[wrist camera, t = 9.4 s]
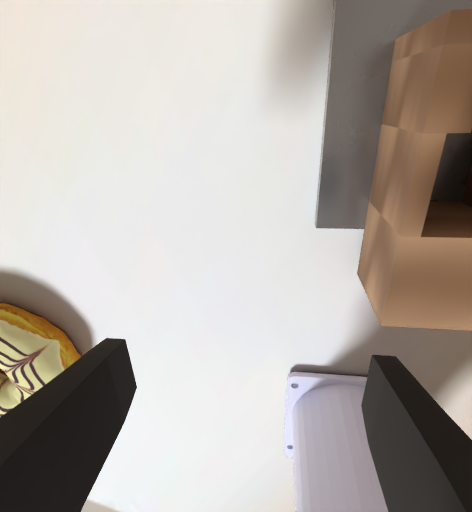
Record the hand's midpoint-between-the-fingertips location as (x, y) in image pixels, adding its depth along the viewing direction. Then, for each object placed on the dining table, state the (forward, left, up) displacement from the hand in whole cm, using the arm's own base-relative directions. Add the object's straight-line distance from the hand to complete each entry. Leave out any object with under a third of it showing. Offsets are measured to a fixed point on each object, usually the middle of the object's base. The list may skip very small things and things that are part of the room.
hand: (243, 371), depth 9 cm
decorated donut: (-10, +19, -10) cm, 24 cm away
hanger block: (+4, -8, -9) cm, 13 cm away
